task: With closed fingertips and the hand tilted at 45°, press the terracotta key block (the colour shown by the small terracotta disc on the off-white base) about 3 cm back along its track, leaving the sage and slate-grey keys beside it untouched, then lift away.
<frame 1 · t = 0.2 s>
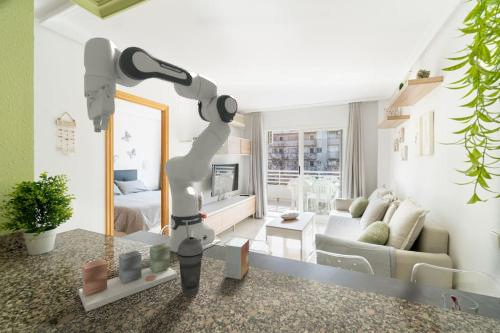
hand: (100, 131, 77), 47 cm above the worktop, tool pointing down, fingers open, 8 cm apart
sage key: (159, 257, 76), point 6 cm above the worktop, slide at 0.0 cm
small box: (237, 273, 77), on the worktop
terracotta key: (94, 276, 63), point 6 cm above the worktop, slide at 0.0 cm
slate key: (130, 266, 69), point 5 cm above the worktop, slide at 0.0 cm
beverage cup: (190, 292, 66), on the worktop
key base: (131, 285, 69), on the worktop
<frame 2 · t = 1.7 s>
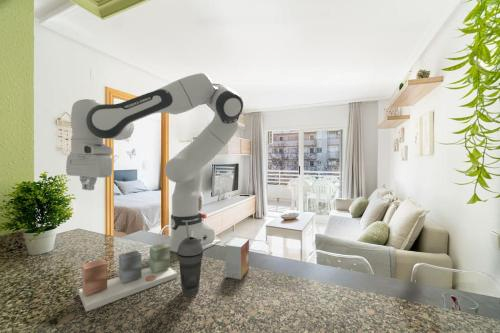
hand: (88, 189, 78), 27 cm above the worktop, tool pointing down, fingers closed
nothing on the worktop moved.
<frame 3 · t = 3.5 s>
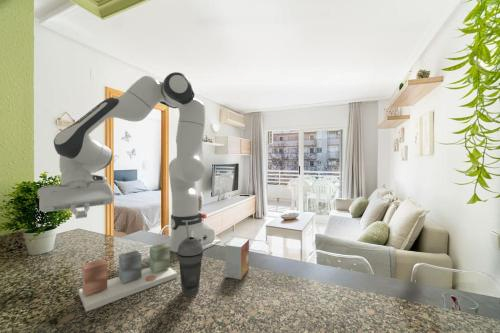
hand: (81, 217, 75), 19 cm above the worktop, tool tilted 45°, fingers closed
nothing on the worktop moved.
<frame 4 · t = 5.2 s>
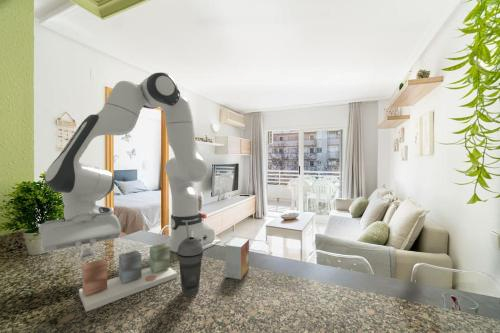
hand: (87, 255, 68), 9 cm above the worktop, tool tilted 45°, fingers closed
nothing on the worktop moved.
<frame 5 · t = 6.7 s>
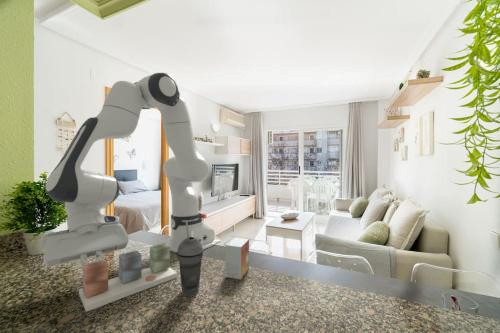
hand: (93, 269, 64), 7 cm above the worktop, tool tilted 45°, fingers closed, pressing on terracotta key
terracotta key: (95, 277, 62), point 5 cm above the worktop, slide at 0.9 cm, touching gripper
everything else where it was.
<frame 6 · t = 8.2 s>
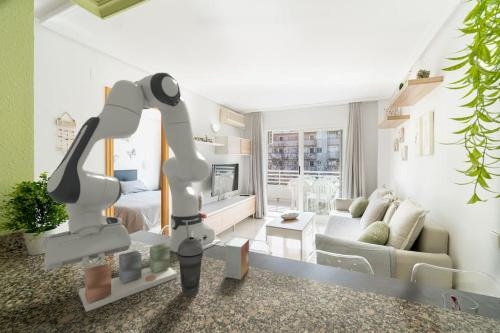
hand: (95, 272, 63), 7 cm above the worktop, tool tilted 45°, fingers closed
terracotta key: (98, 282, 60), point 5 cm above the worktop, slide at 4.0 cm
everything else where it was.
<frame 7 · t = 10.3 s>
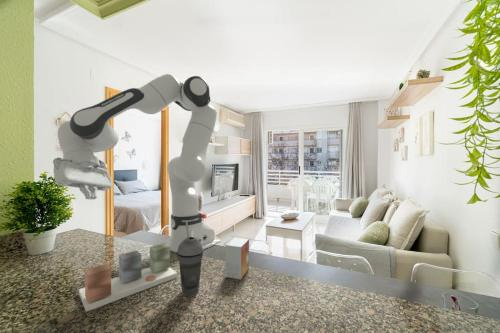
hand: (91, 198, 78), 24 cm above the worktop, tool tilted 30°, fingers closed
nothing on the worktop moved.
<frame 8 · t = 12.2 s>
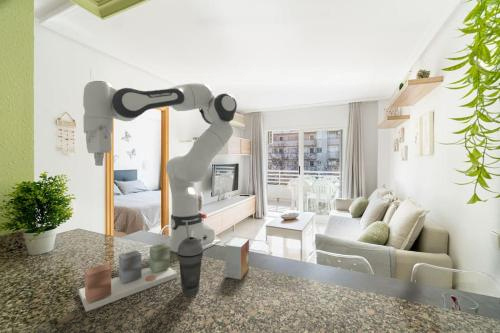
hand: (98, 165, 83), 35 cm above the worktop, tool pointing down, fingers closed
nothing on the worktop moved.
at the end: terracotta key slide at 4.0 cm; sage key slide at 0.0 cm; slate key slide at 0.0 cm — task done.
